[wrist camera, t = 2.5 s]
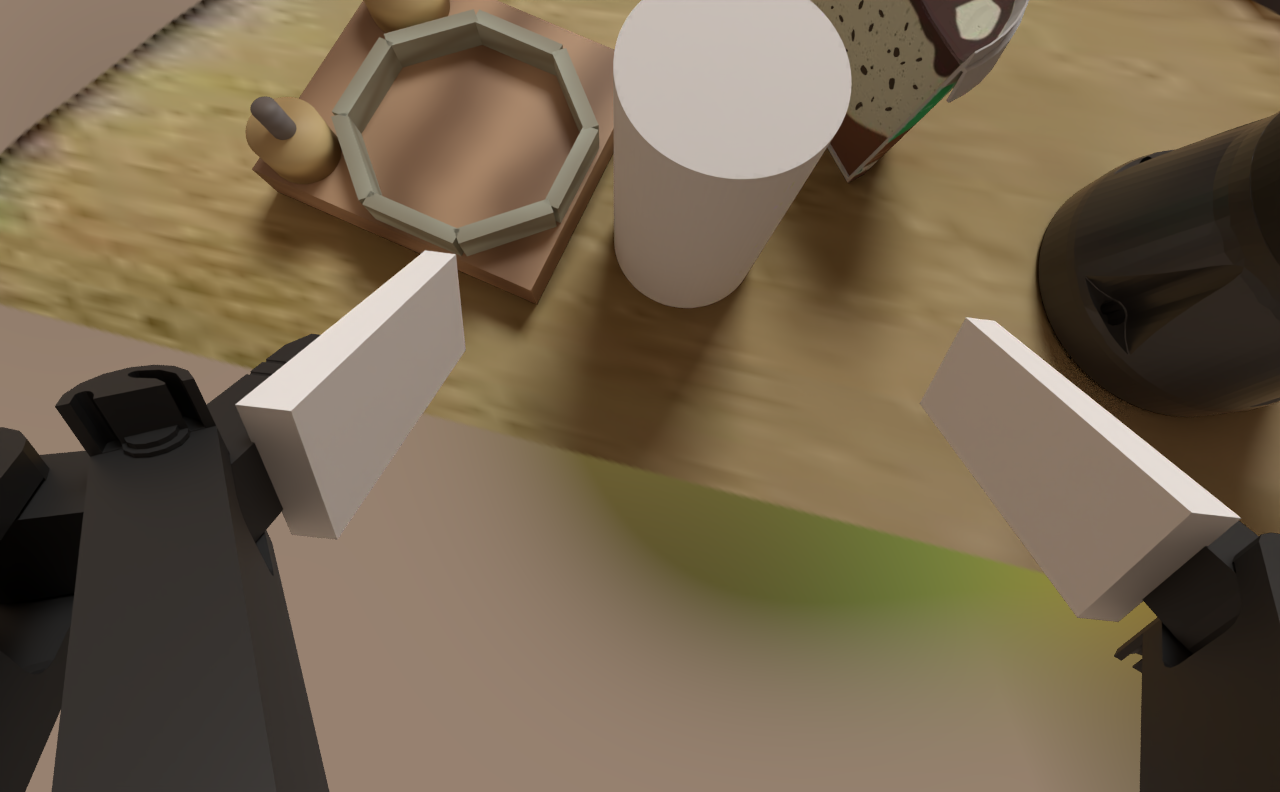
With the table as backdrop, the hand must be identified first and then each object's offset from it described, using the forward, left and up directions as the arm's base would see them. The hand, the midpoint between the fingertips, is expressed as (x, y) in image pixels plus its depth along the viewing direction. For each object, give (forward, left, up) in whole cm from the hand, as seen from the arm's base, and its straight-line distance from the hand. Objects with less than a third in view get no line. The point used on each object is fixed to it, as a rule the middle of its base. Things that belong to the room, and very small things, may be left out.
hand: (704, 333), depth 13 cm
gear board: (+17, -10, -14) cm, 24 cm away
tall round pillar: (+3, -10, -14) cm, 17 cm away
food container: (-3, -23, -14) cm, 27 cm away
